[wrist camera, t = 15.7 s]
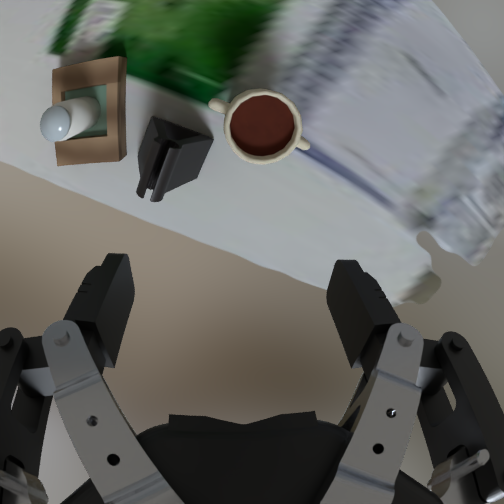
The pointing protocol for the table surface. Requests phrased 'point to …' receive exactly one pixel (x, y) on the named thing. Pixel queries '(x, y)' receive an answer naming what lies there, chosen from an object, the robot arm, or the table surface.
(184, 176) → the phone stand
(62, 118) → the white rounded cylinder
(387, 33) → the table surface
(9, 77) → the table surface
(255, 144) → the character mug
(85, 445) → the robot arm
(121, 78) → the wooden frame
